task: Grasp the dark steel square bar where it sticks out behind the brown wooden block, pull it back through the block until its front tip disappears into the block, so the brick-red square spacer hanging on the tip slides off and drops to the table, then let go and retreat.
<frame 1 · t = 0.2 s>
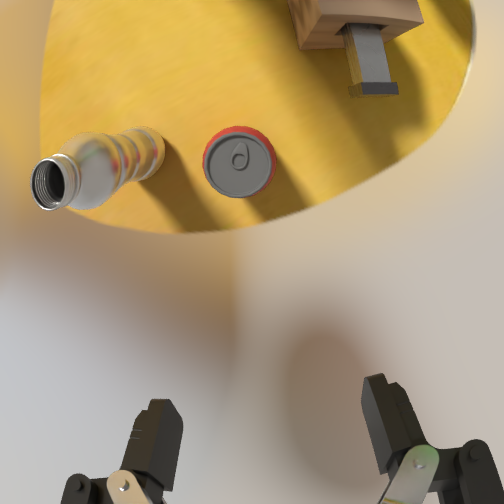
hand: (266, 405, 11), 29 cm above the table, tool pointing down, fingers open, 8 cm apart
brown wooden block: (331, 21, 26), on the table
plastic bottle: (146, 151, 34), on the table
shaft: (355, 14, 20), point 8 cm above the table, slide at 0.0 cm, touching spacer
beer can: (243, 152, 34), on the table
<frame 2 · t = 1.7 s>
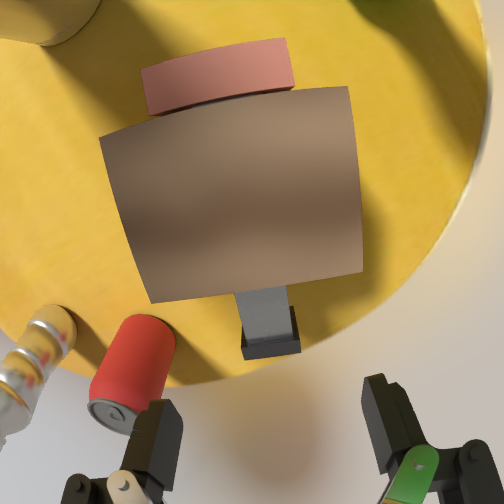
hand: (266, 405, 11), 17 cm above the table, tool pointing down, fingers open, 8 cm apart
spacer: (227, 89, 17), point 4 cm above the table, touching shaft
brown wooden block: (244, 161, 23), on the table
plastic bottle: (62, 318, 30), on the table
shaft: (247, 216, 16), point 8 cm above the table, slide at 0.0 cm, touching spacer
beer can: (149, 333, 31), on the table
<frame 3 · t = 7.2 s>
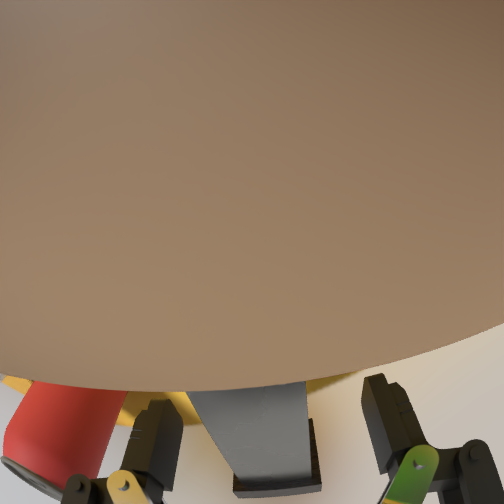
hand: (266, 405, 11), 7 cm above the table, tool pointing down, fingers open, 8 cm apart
brown wooden block: (220, 88, 12), on the table
shaft: (240, 330, 8), point 8 cm above the table, slide at 5.1 cm
beer can: (96, 361, 20), on the table
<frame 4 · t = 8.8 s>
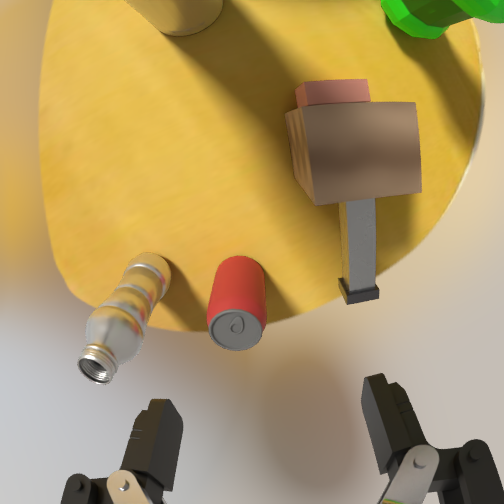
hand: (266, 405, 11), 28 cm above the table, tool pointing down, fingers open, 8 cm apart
spacer: (323, 96, 30), on the table
brown wooden block: (330, 141, 33), on the table
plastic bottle: (153, 268, 40), on the table
shaft: (356, 217, 28), point 8 cm above the table, slide at 5.1 cm
beer can: (240, 274, 40), on the table
plastic bottle 2: (402, 13, 24), on the table
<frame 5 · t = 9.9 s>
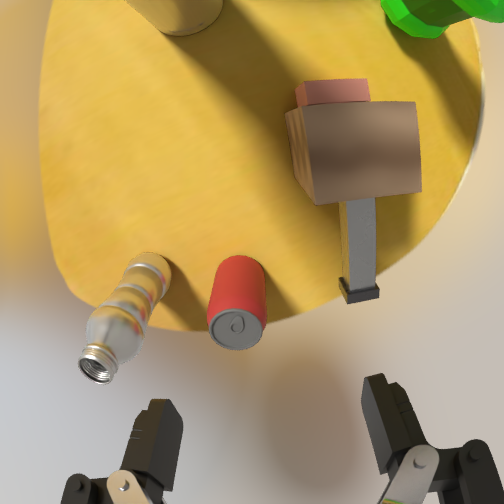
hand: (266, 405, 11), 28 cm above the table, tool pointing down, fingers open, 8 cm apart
spacer: (323, 96, 30), on the table
brown wooden block: (330, 140, 33), on the table
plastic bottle: (153, 267, 40), on the table
shaft: (357, 216, 28), point 8 cm above the table, slide at 5.1 cm
beer can: (240, 274, 40), on the table
plastic bottle 2: (402, 13, 24), on the table
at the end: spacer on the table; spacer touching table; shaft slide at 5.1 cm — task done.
